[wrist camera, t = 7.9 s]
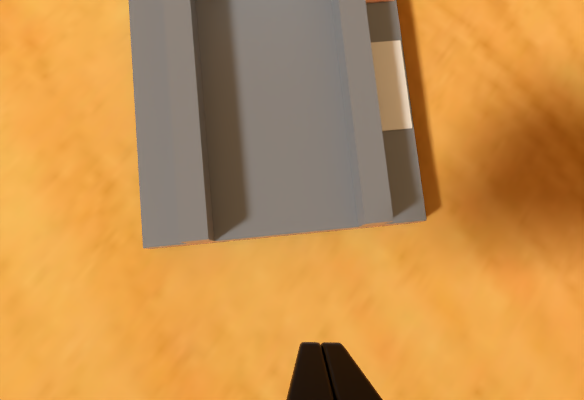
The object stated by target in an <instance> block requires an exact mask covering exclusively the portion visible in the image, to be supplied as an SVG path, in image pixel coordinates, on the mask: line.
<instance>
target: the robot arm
mask: <svg viewBox="0 0 584 400" xmlns="http://www.w3.org/2000/svg"><path fill="white" fill-rule="evenodd" d="M286 400H382V398H381V397H380V396H379V394H378V393H377V391H376V390H375V389H374V387H373V386H372V385H371V383H370V382H369V380H368V379H367V378H366V376H365V375H364V374H363V372H362V371H361V370H360V368H359V367H358V365H357V364H356V363H355V361H354V360H353V359H352V357H351V356H350V354H349V353H348V352H347V350H346V349H345V348H344V346H343V345H342V344H340V343H326V342H324V343H322V344H321V345H320V344H319V343H317V342H302V343H301V344H300V347H299V351H298V355H297V359H296V363H295V367H294V371H293V375H292V379H291V383H290V387H289V391H288V395H287V399H286Z"/></svg>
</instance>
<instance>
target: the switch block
mask: <svg viewBox="0 0 584 400" xmlns="http://www.w3.org/2000/svg"><path fill="white" fill-rule="evenodd" d="M129 13H130V31H131V48H132V65H133V82H134V99H135V116H136V133H137V151H138V168H139V185H140V202H141V219H142V236H143V248H147V249H154V248H164V247H174V246H184V245H195V244H205V243H215V242H225V241H235V240H245V239H256V238H266V237H276V236H286V235H296V234H306V233H317V232H327V231H337V230H347V229H357V228H367V227H377V226H388V225H398V224H408V223H418V222H422V221H426V213H425V205H424V198H423V191H422V184H421V176H420V169H419V162H418V155H417V147H416V140H415V133H414V126H413V118H412V111H411V104H410V96H409V89H408V82H407V75H406V67H405V60H404V53H403V46H402V38H401V31H400V24H399V17H398V9H397V2H396V0H129Z"/></svg>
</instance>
